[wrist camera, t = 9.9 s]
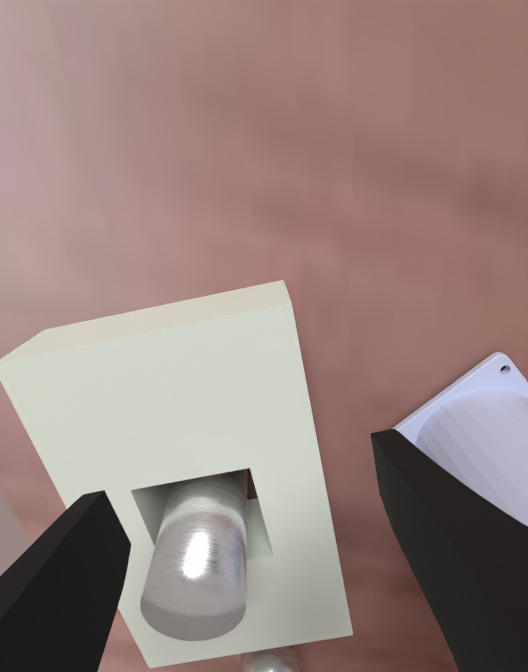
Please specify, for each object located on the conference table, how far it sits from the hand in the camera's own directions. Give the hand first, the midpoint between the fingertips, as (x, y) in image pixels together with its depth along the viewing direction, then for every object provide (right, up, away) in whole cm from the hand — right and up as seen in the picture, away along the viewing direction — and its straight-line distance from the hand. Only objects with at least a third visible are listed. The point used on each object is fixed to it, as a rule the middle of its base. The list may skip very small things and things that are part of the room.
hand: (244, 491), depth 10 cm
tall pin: (-2, -3, +12) cm, 13 cm away
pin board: (-2, -3, +12) cm, 13 cm away
